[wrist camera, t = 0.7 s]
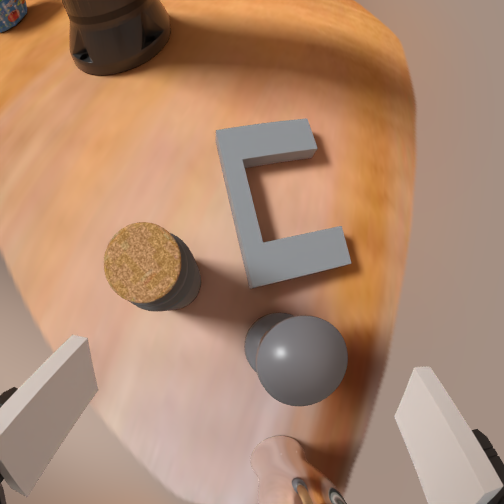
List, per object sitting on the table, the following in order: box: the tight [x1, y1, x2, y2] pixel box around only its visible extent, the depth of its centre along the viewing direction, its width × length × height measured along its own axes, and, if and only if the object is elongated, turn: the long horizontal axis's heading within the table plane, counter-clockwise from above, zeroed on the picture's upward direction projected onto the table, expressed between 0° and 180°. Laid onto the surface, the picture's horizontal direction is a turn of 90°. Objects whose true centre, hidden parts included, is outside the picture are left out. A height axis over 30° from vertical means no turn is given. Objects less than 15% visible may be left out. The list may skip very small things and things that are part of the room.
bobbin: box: [245, 313, 348, 406], centre depth 28 cm, size 7×7×10 cm
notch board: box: [216, 119, 351, 289], centre depth 34 cm, size 17×10×2 cm, turn 13°
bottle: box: [104, 222, 201, 311], centre depth 25 cm, size 6×6×15 cm
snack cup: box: [0, 0, 27, 33], centre depth 31 cm, size 16×10×10 cm
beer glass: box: [250, 436, 347, 504], centre depth 23 cm, size 7×7×15 cm
